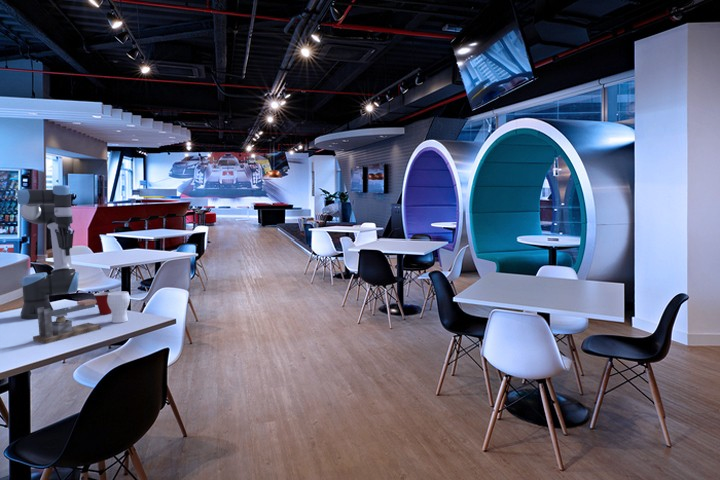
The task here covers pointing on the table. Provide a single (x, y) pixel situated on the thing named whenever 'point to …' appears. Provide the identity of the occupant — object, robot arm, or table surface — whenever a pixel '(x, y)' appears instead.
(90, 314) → the table surface
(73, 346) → the table surface
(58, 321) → the walnut
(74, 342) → the table surface
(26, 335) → the table surface
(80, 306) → the lever
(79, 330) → the press base
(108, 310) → the plastic cup
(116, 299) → the cup
